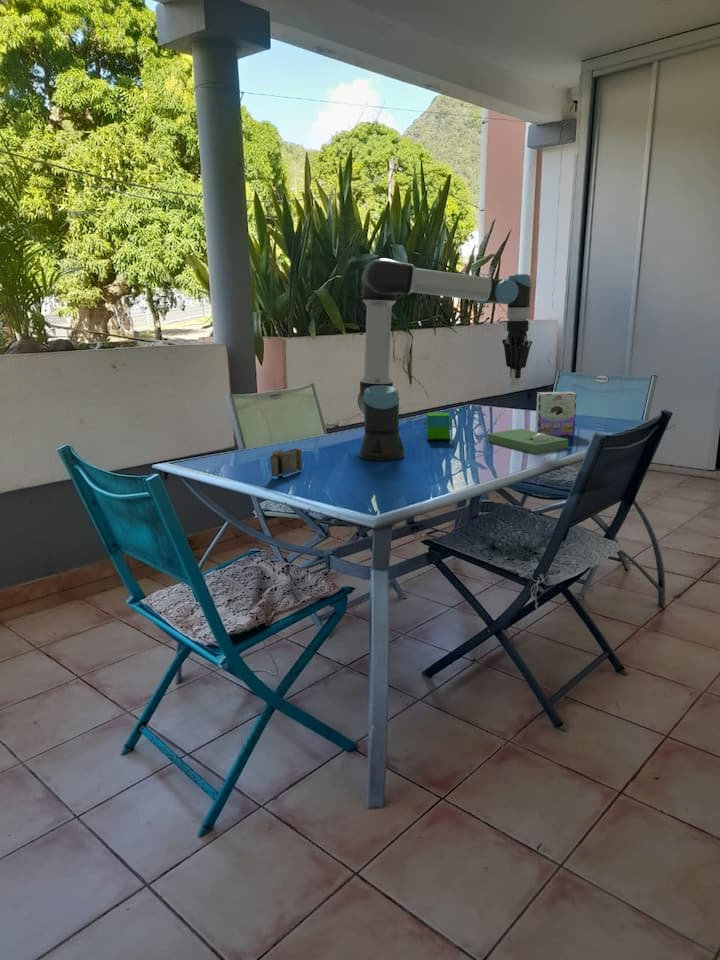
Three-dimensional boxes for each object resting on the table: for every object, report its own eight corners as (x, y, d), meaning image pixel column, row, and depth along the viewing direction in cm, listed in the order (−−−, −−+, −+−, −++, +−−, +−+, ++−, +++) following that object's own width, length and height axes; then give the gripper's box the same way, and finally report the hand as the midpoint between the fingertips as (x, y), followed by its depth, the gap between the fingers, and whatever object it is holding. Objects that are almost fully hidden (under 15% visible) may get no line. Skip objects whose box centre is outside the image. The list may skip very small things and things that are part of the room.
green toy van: (450, 434, 260) (450, 409, 258) (451, 442, 248) (452, 415, 245) (424, 434, 261) (424, 409, 258) (424, 442, 248) (424, 415, 246)
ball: (541, 442, 230) (535, 431, 232) (534, 450, 234) (528, 439, 236) (552, 440, 232) (546, 429, 234) (545, 448, 236) (538, 437, 238)
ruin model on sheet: (279, 481, 201) (277, 450, 199) (271, 480, 203) (270, 449, 200) (303, 473, 210) (301, 443, 208) (295, 472, 212) (294, 442, 209)
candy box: (571, 433, 257) (574, 391, 252) (574, 436, 251) (577, 393, 247) (534, 433, 258) (536, 391, 254) (537, 436, 252) (539, 393, 248)
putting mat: (534, 453, 226) (534, 445, 225) (487, 441, 246) (487, 433, 245) (567, 447, 234) (568, 439, 233) (519, 436, 254) (520, 428, 253)
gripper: (539, 320, 231) (535, 388, 237) (513, 319, 241) (510, 384, 248) (523, 320, 227) (519, 390, 233) (497, 320, 238) (494, 386, 244)
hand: (514, 387), depth 240 cm, fingers closed
